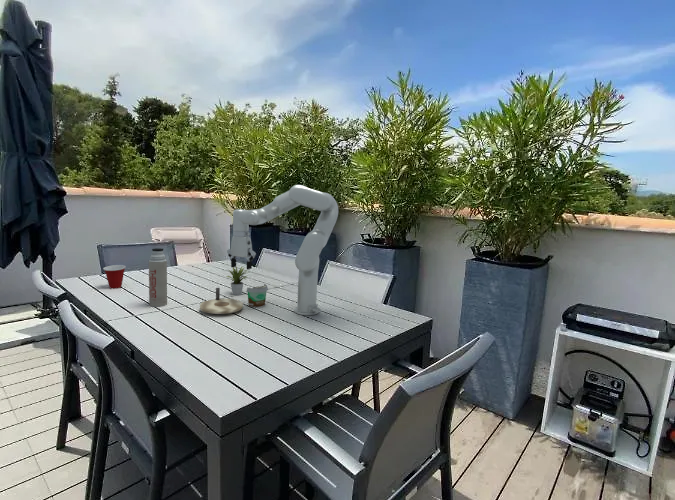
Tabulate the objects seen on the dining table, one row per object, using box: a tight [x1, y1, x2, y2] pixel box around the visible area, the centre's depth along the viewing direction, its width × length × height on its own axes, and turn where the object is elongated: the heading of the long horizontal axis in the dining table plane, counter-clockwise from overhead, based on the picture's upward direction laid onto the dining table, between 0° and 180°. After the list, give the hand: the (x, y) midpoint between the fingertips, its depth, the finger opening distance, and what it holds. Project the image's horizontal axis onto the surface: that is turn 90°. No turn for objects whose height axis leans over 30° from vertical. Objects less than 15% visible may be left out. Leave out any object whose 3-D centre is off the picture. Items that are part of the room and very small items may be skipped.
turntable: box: [199, 287, 244, 315], centre depth 176 cm, size 20×20×9 cm
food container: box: [246, 283, 269, 308], centre depth 186 cm, size 12×6×10 cm, turn 143°
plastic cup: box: [102, 264, 126, 290], centre depth 204 cm, size 11×11×12 cm
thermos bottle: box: [148, 247, 168, 308], centre depth 178 cm, size 8×8×28 cm
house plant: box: [225, 266, 251, 296], centre depth 204 cm, size 14×14×16 cm
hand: (241, 267), depth 183 cm, fingers open, 9 cm apart
